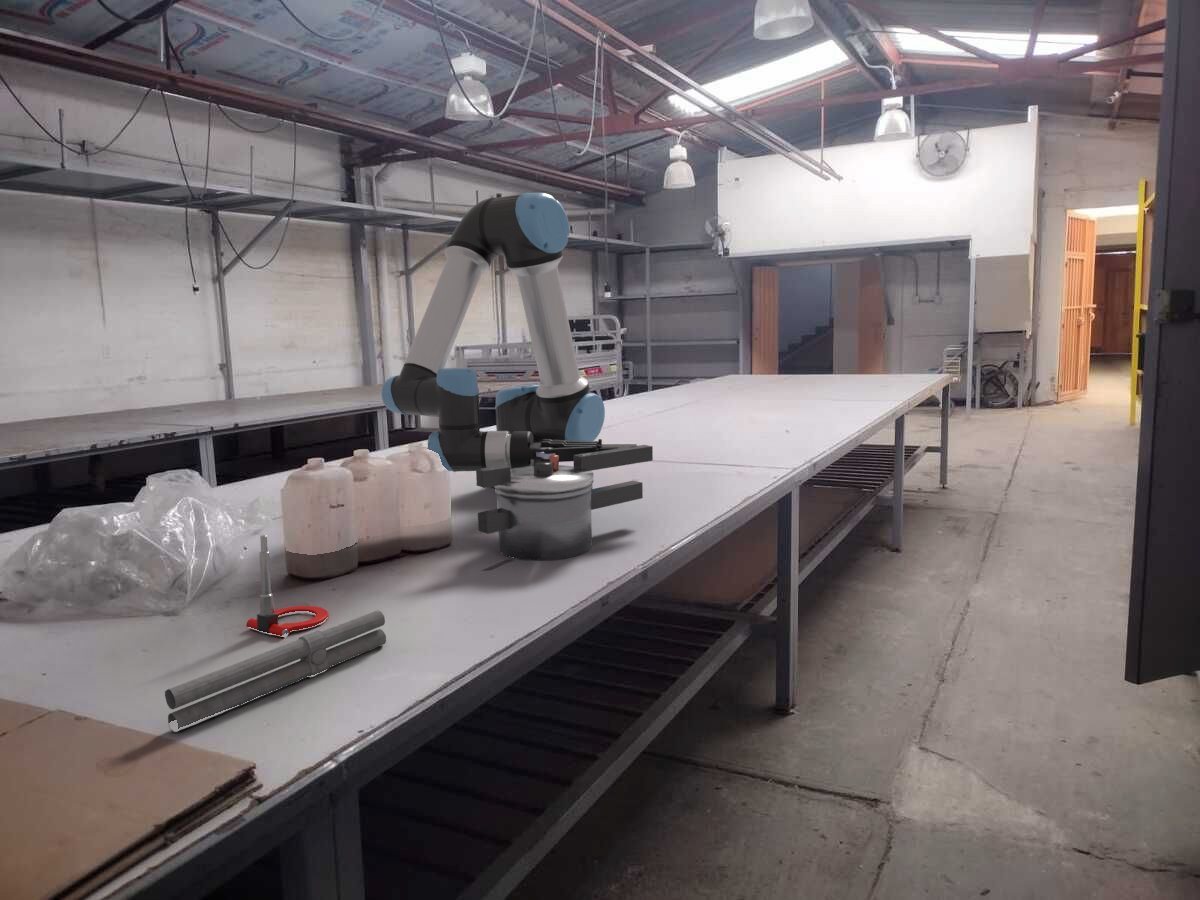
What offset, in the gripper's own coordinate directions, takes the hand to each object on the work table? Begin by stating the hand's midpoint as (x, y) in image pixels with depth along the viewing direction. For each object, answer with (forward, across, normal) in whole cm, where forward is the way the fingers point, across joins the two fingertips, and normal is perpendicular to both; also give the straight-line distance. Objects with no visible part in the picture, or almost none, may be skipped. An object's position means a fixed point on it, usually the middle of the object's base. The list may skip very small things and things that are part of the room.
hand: (636, 450), depth 151 cm
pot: (-12, +12, -14) cm, 22 cm away
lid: (-11, +12, -3) cm, 16 cm away
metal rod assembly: (-37, +67, -15) cm, 78 cm away
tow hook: (-45, +50, -15) cm, 69 cm away
